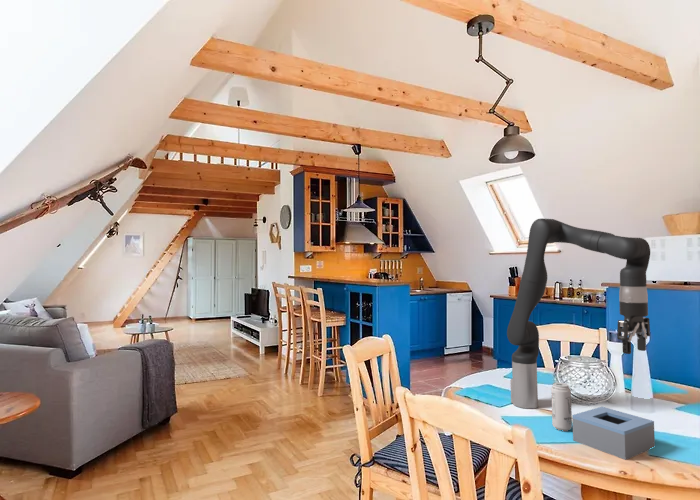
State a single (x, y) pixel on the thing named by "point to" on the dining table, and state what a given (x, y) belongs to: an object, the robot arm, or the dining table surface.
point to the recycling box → (613, 432)
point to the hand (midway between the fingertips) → (634, 352)
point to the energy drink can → (561, 406)
